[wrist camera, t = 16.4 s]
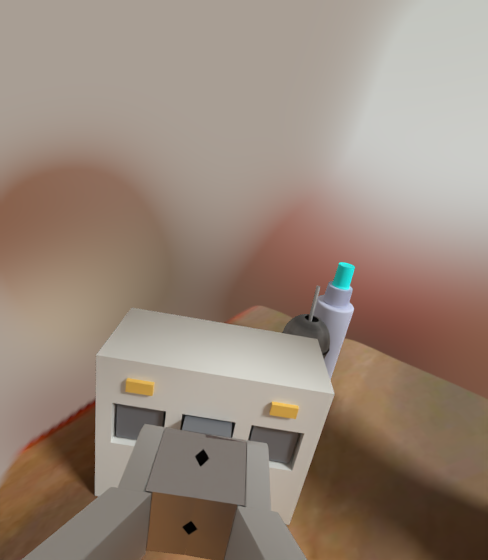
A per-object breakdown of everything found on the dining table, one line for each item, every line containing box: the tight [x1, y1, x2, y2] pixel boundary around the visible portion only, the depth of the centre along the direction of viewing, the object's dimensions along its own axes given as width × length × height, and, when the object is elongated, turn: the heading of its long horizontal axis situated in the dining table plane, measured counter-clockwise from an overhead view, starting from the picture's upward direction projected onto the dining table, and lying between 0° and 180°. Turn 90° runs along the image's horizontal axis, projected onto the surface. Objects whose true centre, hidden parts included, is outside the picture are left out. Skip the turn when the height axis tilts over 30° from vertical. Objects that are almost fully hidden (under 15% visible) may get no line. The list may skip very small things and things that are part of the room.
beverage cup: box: [282, 286, 330, 358], centre depth 51 cm, size 7×7×20 cm
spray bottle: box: [313, 262, 355, 380], centre depth 57 cm, size 6×6×22 cm
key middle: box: [182, 415, 232, 438], centre depth 33 cm, size 4×4×4 cm
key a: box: [116, 404, 166, 440], centre depth 34 cm, size 4×4×4 cm
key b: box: [248, 425, 299, 464], centre depth 35 cm, size 4×4×4 cm
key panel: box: [95, 308, 334, 525], centre depth 37 cm, size 21×9×18 cm, turn 88°
